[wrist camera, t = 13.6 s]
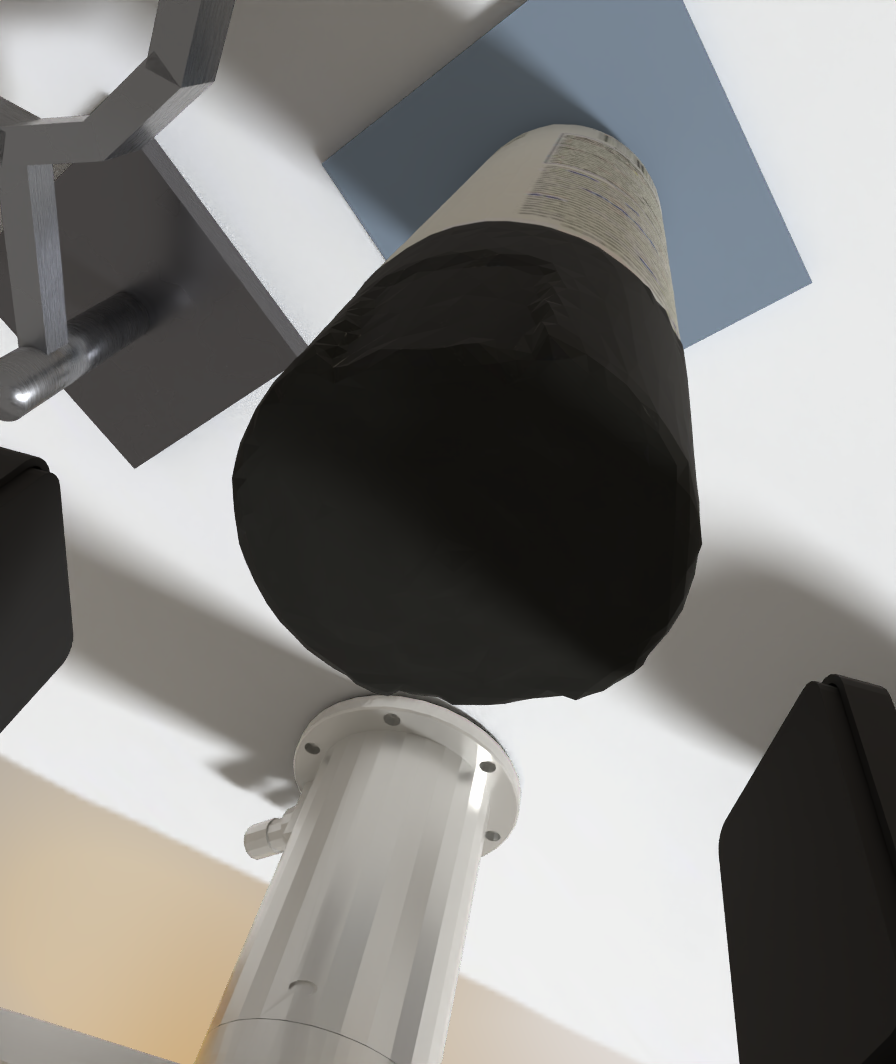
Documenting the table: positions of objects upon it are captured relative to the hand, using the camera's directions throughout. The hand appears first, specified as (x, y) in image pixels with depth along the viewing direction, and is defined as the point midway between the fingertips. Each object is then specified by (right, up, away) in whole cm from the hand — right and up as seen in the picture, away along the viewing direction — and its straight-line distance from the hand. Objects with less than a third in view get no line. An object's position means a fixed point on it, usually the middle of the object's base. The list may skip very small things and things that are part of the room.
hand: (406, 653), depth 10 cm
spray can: (+4, +12, +18) cm, 22 cm away
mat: (+4, +12, +18) cm, 22 cm away
